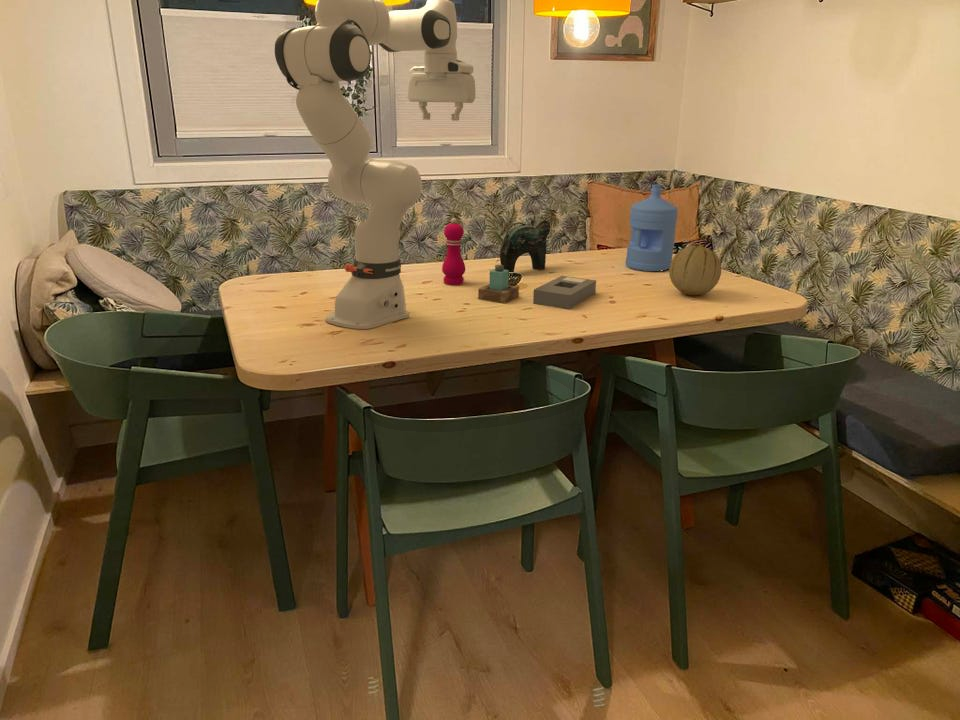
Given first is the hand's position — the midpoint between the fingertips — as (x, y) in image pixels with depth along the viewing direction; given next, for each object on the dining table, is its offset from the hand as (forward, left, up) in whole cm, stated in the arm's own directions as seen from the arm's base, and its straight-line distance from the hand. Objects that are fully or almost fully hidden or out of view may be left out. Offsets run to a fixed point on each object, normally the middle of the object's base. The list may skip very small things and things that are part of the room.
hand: (440, 120), depth 192 cm
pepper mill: (+7, 0, -48) cm, 49 cm away
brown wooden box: (-1, -20, -48) cm, 52 cm away
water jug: (+63, -45, -48) cm, 91 cm away
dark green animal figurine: (+33, -12, -48) cm, 60 cm away
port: (+9, -36, -48) cm, 61 cm away
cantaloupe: (+34, -67, -48) cm, 89 cm away
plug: (-1, -20, -48) cm, 52 cm away
